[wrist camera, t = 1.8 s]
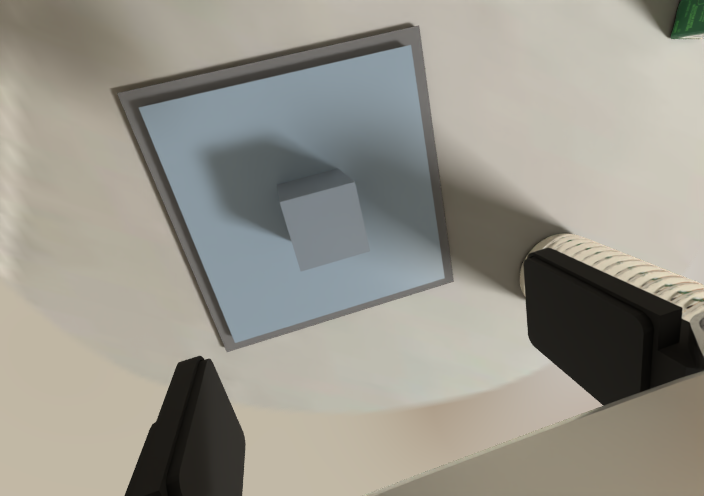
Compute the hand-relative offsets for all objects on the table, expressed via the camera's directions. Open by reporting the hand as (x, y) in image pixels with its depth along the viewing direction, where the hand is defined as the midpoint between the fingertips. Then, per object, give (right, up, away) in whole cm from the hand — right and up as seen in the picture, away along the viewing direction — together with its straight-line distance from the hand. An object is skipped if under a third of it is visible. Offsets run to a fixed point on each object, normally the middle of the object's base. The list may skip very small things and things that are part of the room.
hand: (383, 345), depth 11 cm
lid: (-3, +6, +15) cm, 16 cm away
